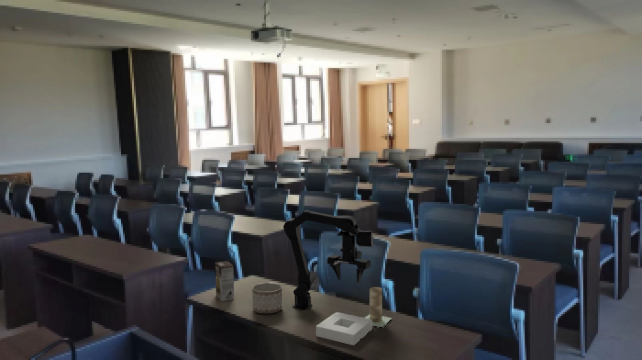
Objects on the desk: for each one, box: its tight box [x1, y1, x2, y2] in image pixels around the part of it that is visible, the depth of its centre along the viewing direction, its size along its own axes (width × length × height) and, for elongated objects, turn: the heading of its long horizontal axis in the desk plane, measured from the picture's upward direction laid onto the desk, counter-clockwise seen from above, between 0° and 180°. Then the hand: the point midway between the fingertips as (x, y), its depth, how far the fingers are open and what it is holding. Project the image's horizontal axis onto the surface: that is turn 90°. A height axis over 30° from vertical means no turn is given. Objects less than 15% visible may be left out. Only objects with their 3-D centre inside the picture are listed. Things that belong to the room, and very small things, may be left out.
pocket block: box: [315, 311, 373, 346], centre depth 189 cm, size 16×16×4 cm
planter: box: [251, 281, 283, 314], centre depth 213 cm, size 13×13×10 cm
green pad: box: [364, 313, 393, 328], centre depth 200 cm, size 10×10×1 cm
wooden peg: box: [369, 286, 383, 322], centre depth 199 cm, size 5×5×13 cm
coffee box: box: [214, 260, 235, 302], centre depth 228 cm, size 9×6×16 cm
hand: (348, 281), depth 210 cm, fingers open, 9 cm apart
